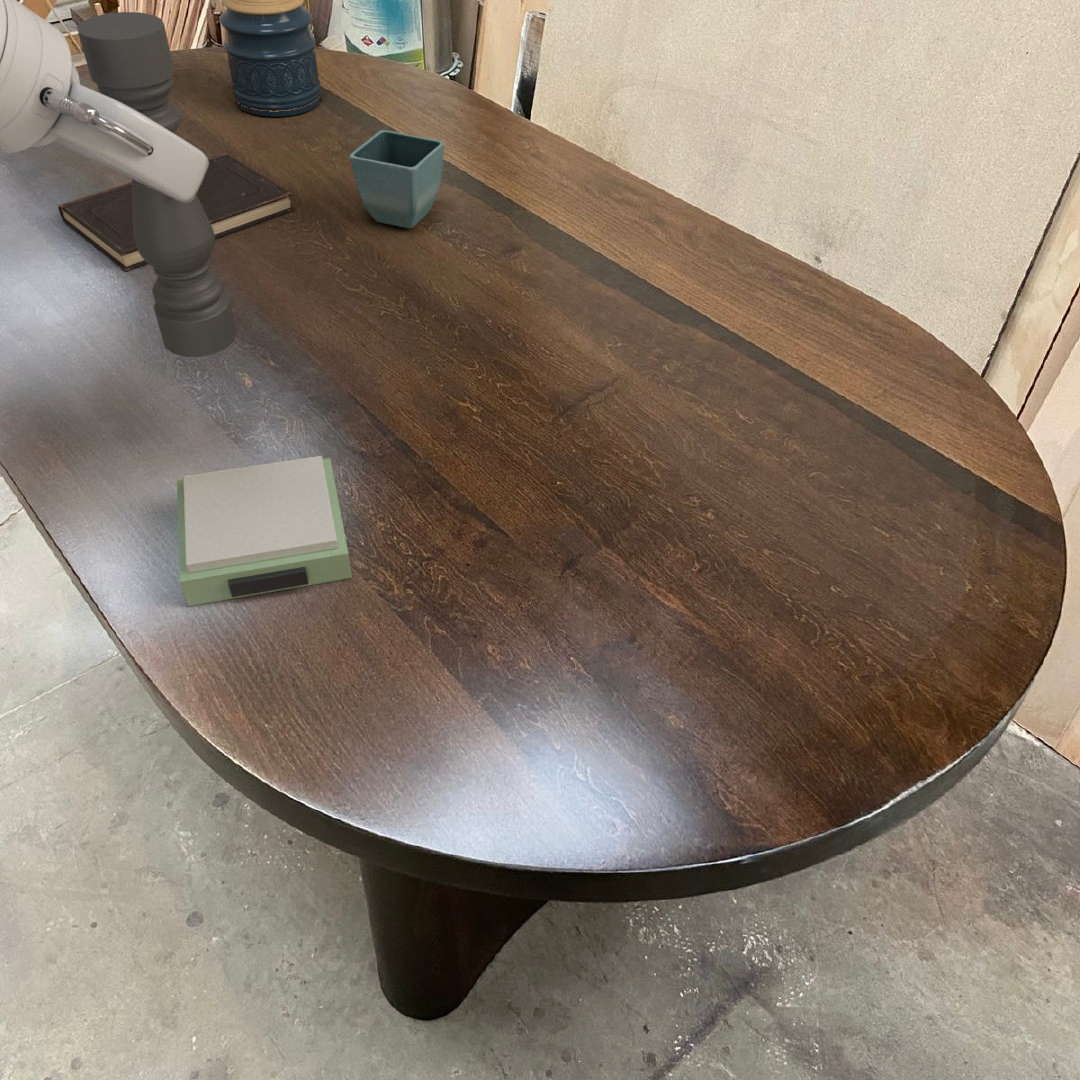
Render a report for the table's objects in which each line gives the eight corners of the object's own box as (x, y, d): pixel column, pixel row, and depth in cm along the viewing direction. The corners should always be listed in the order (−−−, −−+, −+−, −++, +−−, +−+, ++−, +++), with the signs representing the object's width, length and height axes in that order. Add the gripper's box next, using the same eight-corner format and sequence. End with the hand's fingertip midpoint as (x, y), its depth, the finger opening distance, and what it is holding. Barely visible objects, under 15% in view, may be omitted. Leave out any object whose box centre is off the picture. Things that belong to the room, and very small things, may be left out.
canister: (304, 79, 153) (288, -47, 140) (335, 109, 145) (320, -21, 132) (223, 93, 148) (199, -37, 135) (250, 124, 140) (227, -9, 127)
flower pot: (386, 196, 126) (381, 127, 120) (448, 209, 124) (445, 140, 118) (354, 226, 120) (347, 155, 114) (418, 240, 118) (414, 169, 112)
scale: (188, 611, 76) (176, 577, 73) (184, 505, 84) (174, 471, 82) (353, 582, 79) (347, 548, 76) (334, 482, 87) (328, 448, 84)
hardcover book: (294, 210, 123) (291, 193, 121) (126, 271, 111) (120, 253, 109) (226, 167, 130) (222, 151, 129) (62, 221, 118) (56, 203, 117)
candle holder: (220, 361, 81) (143, 45, 63) (150, 352, 82) (54, 36, 64) (247, 321, 85) (182, 15, 68) (181, 313, 86) (99, 7, 68)
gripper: (123, 70, 57) (276, 175, 69) (-65, -7, 65) (102, 100, 77) (79, 169, 57) (239, 255, 70) (-102, 80, 65) (70, 172, 78)
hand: (165, 173), depth 74 cm, fingers closed on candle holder, 4 cm apart
